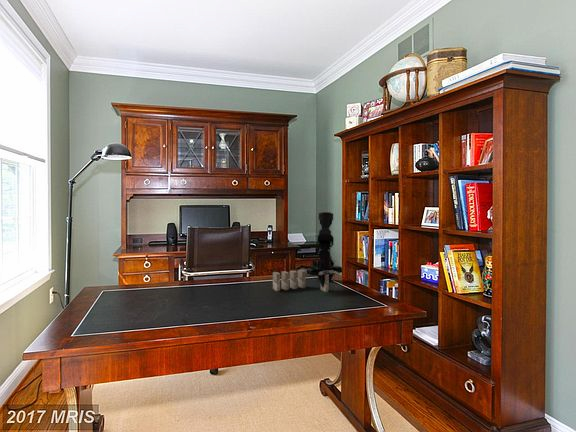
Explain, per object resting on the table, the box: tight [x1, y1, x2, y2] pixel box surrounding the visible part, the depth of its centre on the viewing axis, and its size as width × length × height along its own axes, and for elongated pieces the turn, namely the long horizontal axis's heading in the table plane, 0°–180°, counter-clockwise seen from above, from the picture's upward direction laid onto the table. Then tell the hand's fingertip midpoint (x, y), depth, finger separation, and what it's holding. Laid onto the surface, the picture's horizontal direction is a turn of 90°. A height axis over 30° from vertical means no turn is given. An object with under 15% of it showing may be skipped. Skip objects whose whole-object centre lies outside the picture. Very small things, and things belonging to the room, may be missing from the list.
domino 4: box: [297, 269, 307, 289], centre depth 208 cm, size 2×5×9 cm, turn 26°
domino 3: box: [289, 270, 298, 290], centre depth 206 cm, size 2×5×9 cm, turn 26°
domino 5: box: [320, 273, 330, 293], centre depth 200 cm, size 2×5×9 cm, turn 26°
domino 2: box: [280, 270, 290, 291], centre depth 204 cm, size 2×5×9 cm, turn 26°
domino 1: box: [272, 271, 281, 292], centre depth 201 cm, size 2×5×9 cm, turn 26°
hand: (324, 286), depth 200 cm, fingers closed on domino 5, 2 cm apart
